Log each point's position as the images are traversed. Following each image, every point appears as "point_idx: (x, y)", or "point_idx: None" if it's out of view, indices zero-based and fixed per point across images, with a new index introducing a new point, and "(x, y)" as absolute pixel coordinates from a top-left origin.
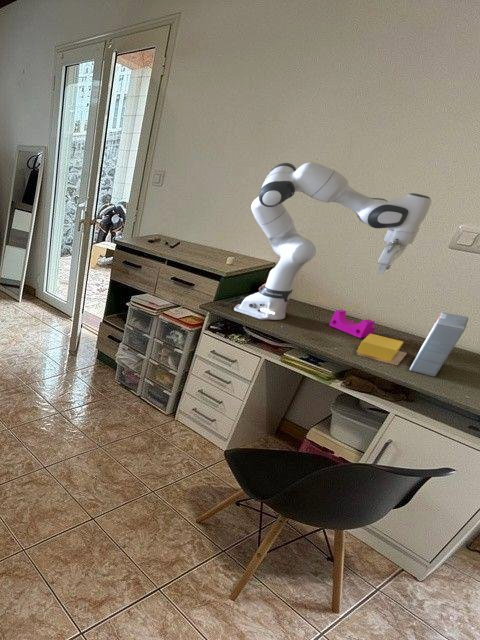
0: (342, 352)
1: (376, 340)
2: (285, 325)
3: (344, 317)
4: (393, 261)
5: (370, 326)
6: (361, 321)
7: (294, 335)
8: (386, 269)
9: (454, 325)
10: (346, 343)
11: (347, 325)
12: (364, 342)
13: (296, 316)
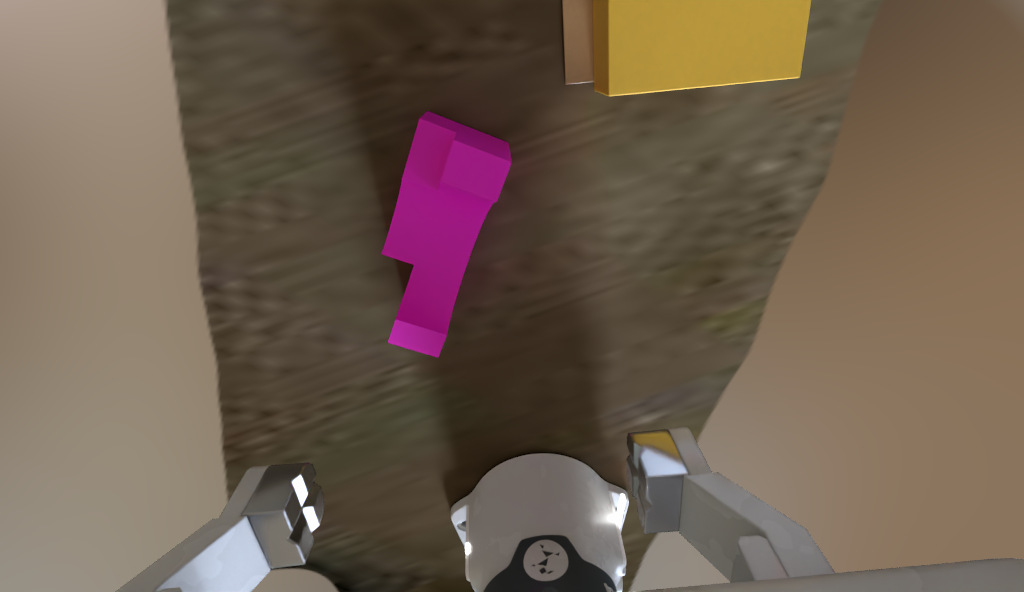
0: (802, 122)
1: (721, 20)
2: (617, 415)
3: (417, 294)
4: (165, 579)
5: (470, 140)
6: (497, 198)
7: (721, 346)
8: (314, 474)
9: None
10: (650, 158)
11: (467, 243)
12: (801, 60)
13: (454, 436)
